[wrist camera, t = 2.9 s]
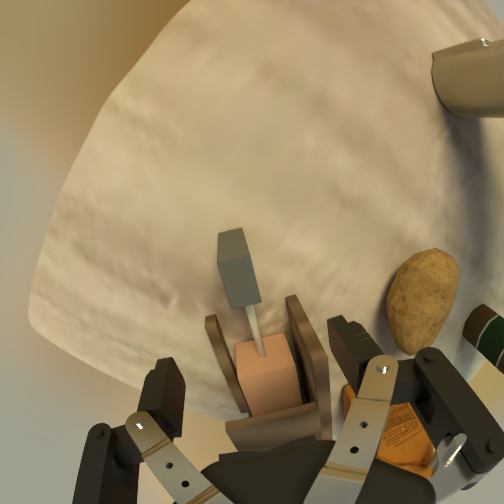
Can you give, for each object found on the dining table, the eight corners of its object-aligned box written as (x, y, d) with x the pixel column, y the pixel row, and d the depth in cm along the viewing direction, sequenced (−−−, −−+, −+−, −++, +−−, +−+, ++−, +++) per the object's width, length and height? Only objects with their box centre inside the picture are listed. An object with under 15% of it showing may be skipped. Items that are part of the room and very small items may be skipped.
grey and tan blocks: (200, 237, 27) (193, 268, 20) (259, 222, 27) (274, 248, 20) (253, 395, 35) (260, 440, 28) (294, 385, 35) (308, 428, 28)
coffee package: (334, 422, 41) (373, 523, 20) (337, 379, 37) (396, 502, 16) (383, 405, 41) (433, 494, 21) (394, 359, 37) (466, 461, 16)
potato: (362, 336, 34) (389, 374, 27) (386, 235, 30) (427, 259, 22) (415, 328, 35) (444, 358, 28) (440, 238, 31) (481, 258, 23)
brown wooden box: (205, 316, 31) (201, 387, 20) (295, 294, 31) (327, 356, 20) (240, 403, 36) (247, 465, 26) (310, 386, 36) (332, 445, 26)
